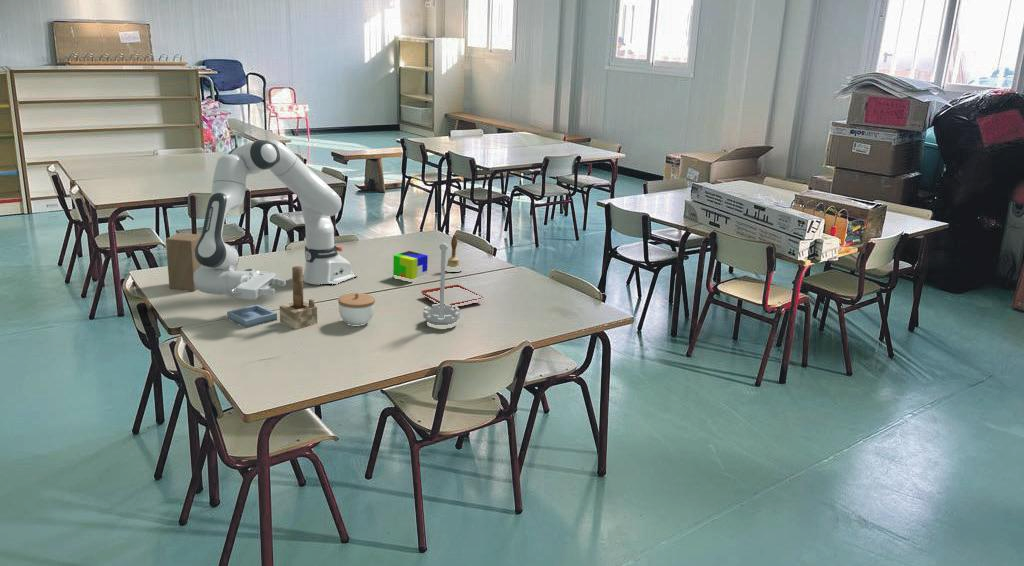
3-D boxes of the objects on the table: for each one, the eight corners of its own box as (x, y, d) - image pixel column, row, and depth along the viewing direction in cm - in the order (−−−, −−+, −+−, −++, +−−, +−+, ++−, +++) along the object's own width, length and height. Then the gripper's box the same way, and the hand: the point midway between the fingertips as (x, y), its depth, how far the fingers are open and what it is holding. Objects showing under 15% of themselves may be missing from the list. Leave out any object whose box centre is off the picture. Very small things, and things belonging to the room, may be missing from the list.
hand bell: (445, 267, 350) (446, 232, 345) (464, 268, 349) (465, 233, 344) (441, 272, 342) (442, 236, 337) (460, 274, 341) (461, 238, 336)
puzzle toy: (427, 278, 333) (427, 255, 330) (411, 283, 325) (412, 260, 322) (408, 273, 338) (409, 250, 335) (393, 278, 330) (393, 255, 327)
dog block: (301, 316, 281) (301, 293, 278) (317, 323, 276) (316, 300, 273) (280, 322, 274) (279, 299, 272) (295, 329, 269) (294, 305, 266)
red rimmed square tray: (484, 304, 306) (484, 296, 305) (445, 312, 295) (445, 304, 294) (457, 291, 319) (457, 284, 318) (419, 298, 308) (419, 290, 307)
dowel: (299, 314, 277) (298, 265, 271) (305, 317, 275) (304, 268, 269) (291, 317, 274) (290, 267, 269) (297, 319, 272) (296, 269, 267)
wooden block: (206, 284, 308) (203, 234, 302) (194, 291, 299) (190, 240, 293) (182, 281, 309) (178, 232, 303) (168, 289, 300) (165, 238, 294)
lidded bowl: (337, 329, 271) (337, 299, 268) (339, 316, 283) (339, 287, 280) (374, 329, 273) (374, 299, 270) (375, 316, 285) (375, 287, 282)
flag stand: (459, 331, 277) (463, 248, 268) (422, 330, 275) (424, 247, 266) (459, 318, 289) (462, 238, 280) (423, 317, 288) (425, 237, 279)
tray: (257, 311, 284) (257, 304, 283) (277, 319, 276) (276, 313, 276) (227, 318, 275) (227, 311, 274) (246, 327, 267) (246, 321, 267)
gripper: (227, 284, 262) (267, 287, 261) (252, 267, 281) (290, 270, 280) (228, 302, 264) (268, 305, 263) (253, 283, 283) (290, 287, 282)
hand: (279, 287), depth 272 cm, fingers open, 8 cm apart
